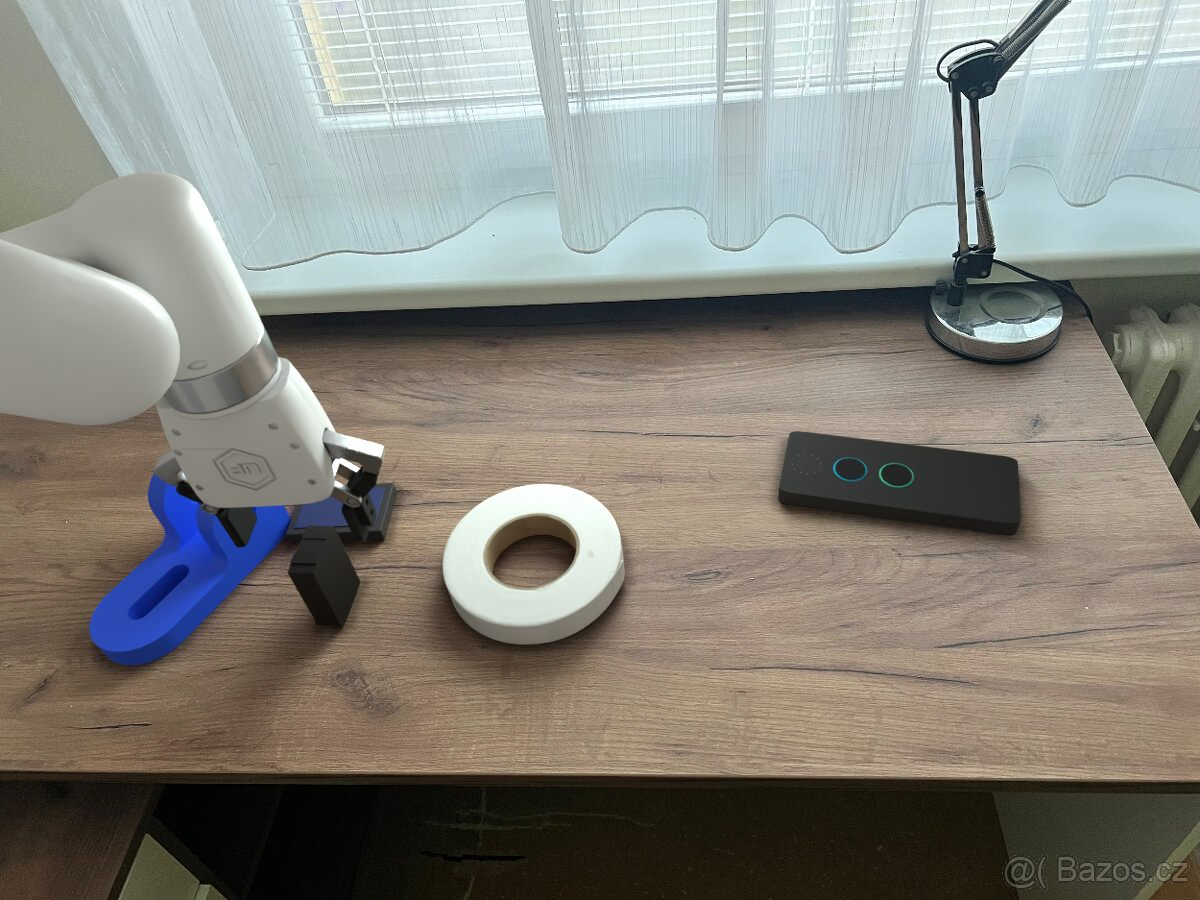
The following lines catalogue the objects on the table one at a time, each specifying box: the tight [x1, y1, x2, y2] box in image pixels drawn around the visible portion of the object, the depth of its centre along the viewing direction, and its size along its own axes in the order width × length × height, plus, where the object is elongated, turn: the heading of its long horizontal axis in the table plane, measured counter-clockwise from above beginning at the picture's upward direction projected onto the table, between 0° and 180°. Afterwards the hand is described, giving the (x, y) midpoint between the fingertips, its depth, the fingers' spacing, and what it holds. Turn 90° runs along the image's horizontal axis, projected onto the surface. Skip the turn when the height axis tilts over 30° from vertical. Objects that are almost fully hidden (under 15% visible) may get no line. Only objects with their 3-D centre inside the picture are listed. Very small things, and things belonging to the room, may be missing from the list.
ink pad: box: [286, 482, 398, 545], centre depth 82 cm, size 9×6×2 cm, turn 88°
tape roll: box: [442, 483, 626, 645], centre depth 75 cm, size 16×15×3 cm
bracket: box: [89, 473, 292, 666], centre depth 76 cm, size 18×8×9 cm, turn 151°
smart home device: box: [777, 430, 1022, 536], centre depth 78 cm, size 8×2×20 cm
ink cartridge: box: [286, 526, 361, 628], centre depth 73 cm, size 5×2×8 cm, turn 173°
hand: (306, 530), depth 69 cm, fingers open, 9 cm apart
